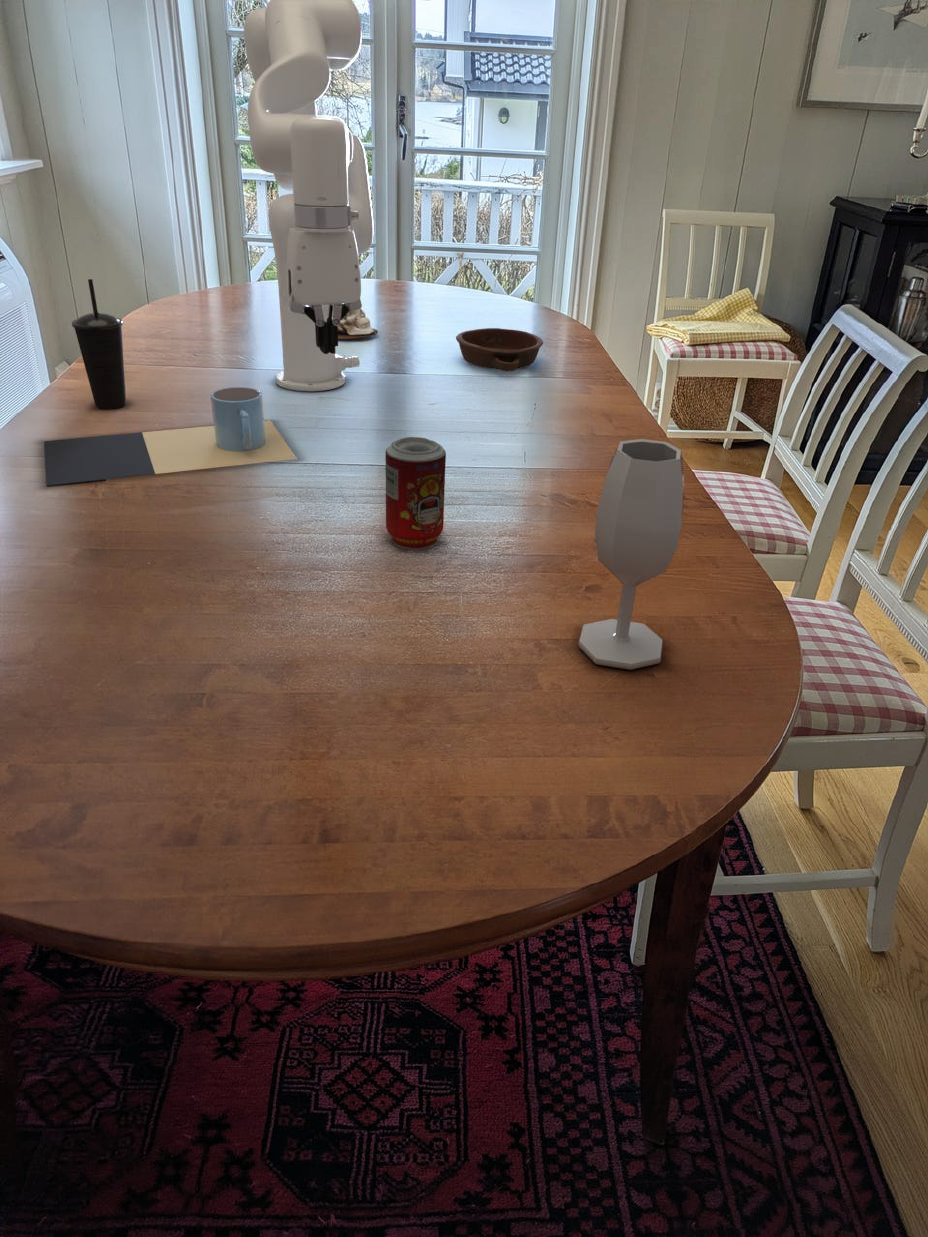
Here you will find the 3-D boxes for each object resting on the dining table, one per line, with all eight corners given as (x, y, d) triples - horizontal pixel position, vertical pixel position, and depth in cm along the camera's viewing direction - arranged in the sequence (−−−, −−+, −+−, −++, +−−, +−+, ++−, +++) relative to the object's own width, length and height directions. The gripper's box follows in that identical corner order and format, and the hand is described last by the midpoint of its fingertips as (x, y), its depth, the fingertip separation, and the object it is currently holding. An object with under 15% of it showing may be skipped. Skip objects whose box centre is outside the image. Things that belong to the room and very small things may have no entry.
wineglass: (569, 626, 95) (591, 433, 84) (650, 625, 96) (682, 433, 85) (586, 673, 88) (612, 467, 77) (674, 671, 88) (712, 468, 78)
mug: (212, 437, 139) (206, 388, 136) (260, 432, 142) (256, 385, 138) (224, 460, 131) (218, 410, 127) (274, 455, 134) (271, 405, 130)
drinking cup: (120, 414, 148) (99, 285, 137) (77, 409, 149) (53, 281, 139) (143, 400, 154) (125, 276, 144) (102, 396, 155) (81, 273, 145)
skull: (391, 327, 201) (373, 297, 191) (371, 366, 199) (352, 337, 189) (348, 317, 206) (328, 287, 196) (327, 355, 203) (306, 326, 194)
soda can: (411, 557, 107) (411, 459, 101) (374, 537, 112) (372, 441, 105) (455, 541, 111) (458, 446, 105) (418, 523, 116) (419, 430, 110)
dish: (461, 378, 173) (461, 351, 170) (450, 348, 192) (450, 324, 189) (550, 378, 175) (553, 352, 172) (531, 349, 194) (533, 325, 191)
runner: (270, 421, 147) (270, 420, 147) (297, 459, 133) (297, 458, 133) (44, 442, 135) (43, 441, 135) (46, 486, 121) (46, 485, 121)
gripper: (365, 215, 132) (367, 343, 141) (262, 215, 127) (272, 349, 136) (381, 221, 126) (382, 354, 135) (274, 222, 121) (283, 361, 130)
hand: (327, 351), depth 136 cm, fingers closed
